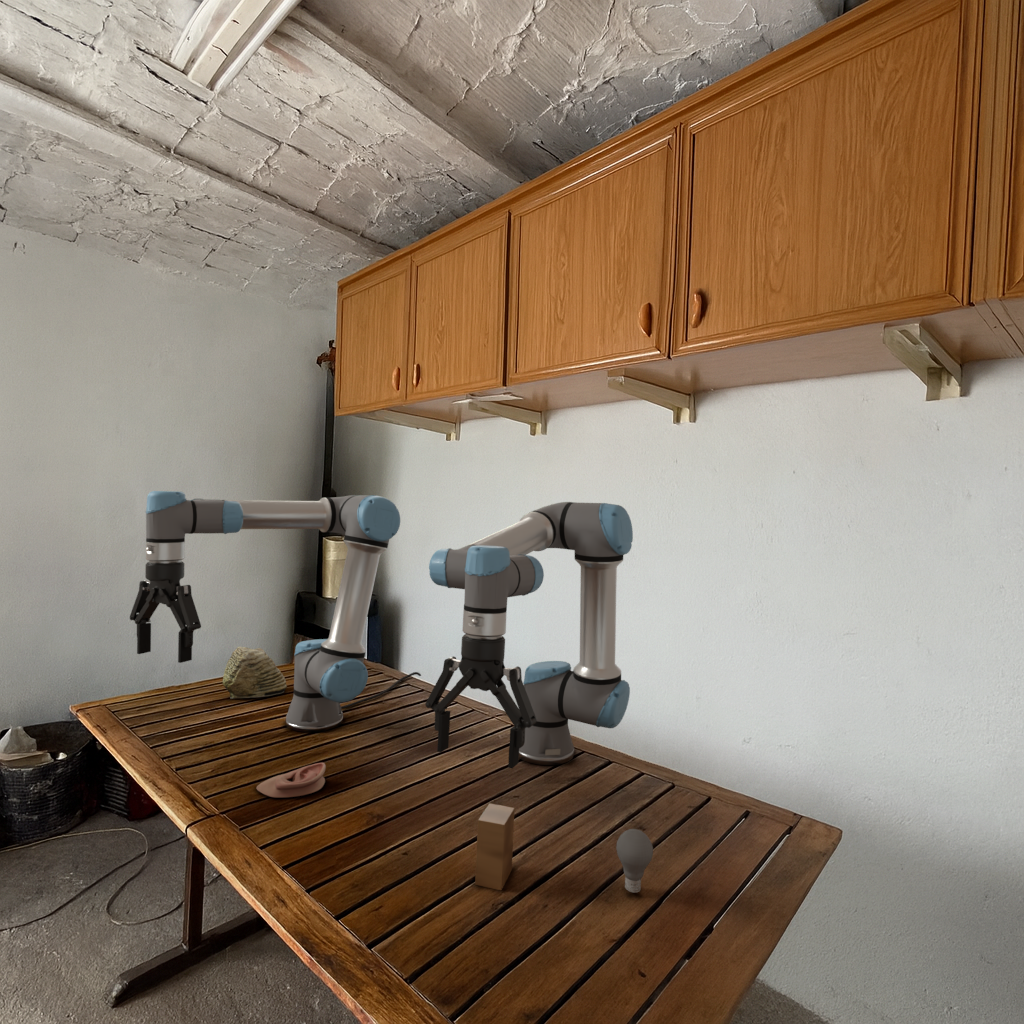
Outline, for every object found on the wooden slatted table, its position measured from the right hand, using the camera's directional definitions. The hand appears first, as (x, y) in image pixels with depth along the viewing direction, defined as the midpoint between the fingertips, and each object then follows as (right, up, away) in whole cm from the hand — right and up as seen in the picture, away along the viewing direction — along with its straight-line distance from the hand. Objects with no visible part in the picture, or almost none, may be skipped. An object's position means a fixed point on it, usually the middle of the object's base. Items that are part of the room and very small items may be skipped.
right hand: (477, 757), depth 110 cm
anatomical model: (-42, -17, +28) cm, 53 cm away
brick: (+3, -20, -2) cm, 20 cm away
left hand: (-71, +10, +30) cm, 78 cm away
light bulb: (+26, -21, -4) cm, 34 cm away
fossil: (-75, -15, +88) cm, 117 cm away
